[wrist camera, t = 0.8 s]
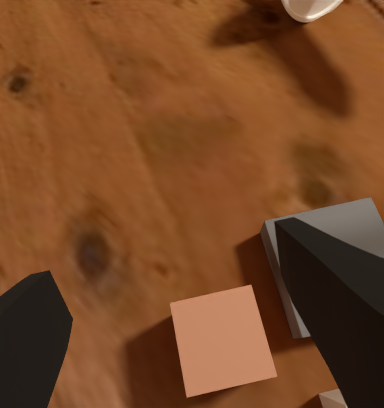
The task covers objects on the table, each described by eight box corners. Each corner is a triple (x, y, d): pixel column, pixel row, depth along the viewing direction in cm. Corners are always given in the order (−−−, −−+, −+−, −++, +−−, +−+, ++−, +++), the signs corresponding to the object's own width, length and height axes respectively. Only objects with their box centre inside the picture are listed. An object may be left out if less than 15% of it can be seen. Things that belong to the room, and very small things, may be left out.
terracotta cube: (264, 370, 22) (277, 376, 18) (192, 387, 22) (186, 397, 18) (244, 296, 24) (251, 284, 20) (178, 311, 24) (170, 303, 20)
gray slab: (400, 313, 23) (424, 309, 21) (292, 338, 23) (302, 337, 20) (354, 212, 27) (370, 197, 24) (259, 234, 26) (264, 220, 24)
